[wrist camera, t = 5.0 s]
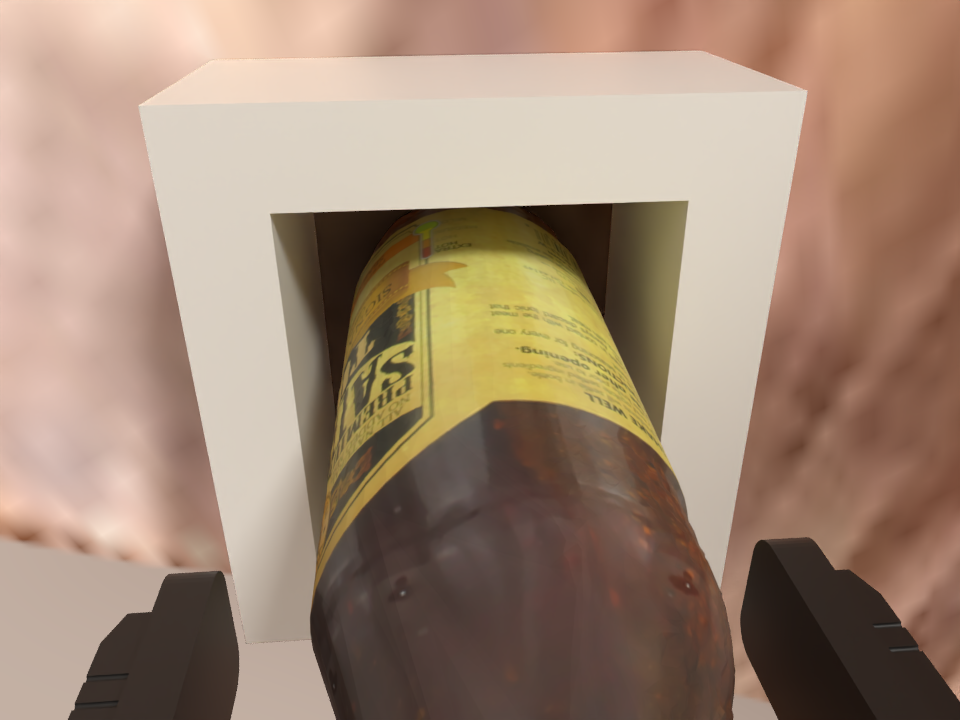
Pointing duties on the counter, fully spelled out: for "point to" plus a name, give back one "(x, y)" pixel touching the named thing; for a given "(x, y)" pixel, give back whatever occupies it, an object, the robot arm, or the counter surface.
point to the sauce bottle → (503, 499)
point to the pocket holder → (459, 184)
